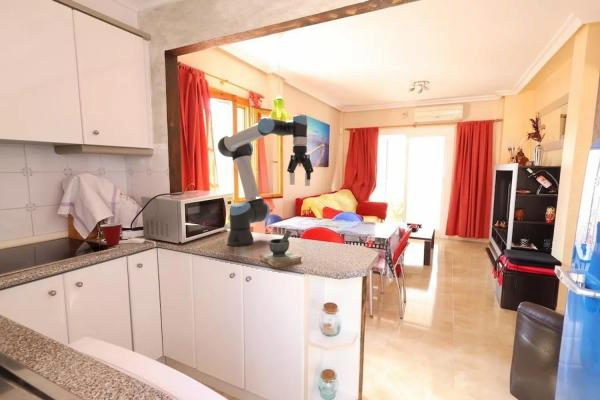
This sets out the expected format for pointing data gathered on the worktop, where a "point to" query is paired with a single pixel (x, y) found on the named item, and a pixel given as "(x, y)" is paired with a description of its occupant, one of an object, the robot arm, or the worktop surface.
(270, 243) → the mortar and pestle
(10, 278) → the worktop surface
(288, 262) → the beige flat pad
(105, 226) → the plastic cup
